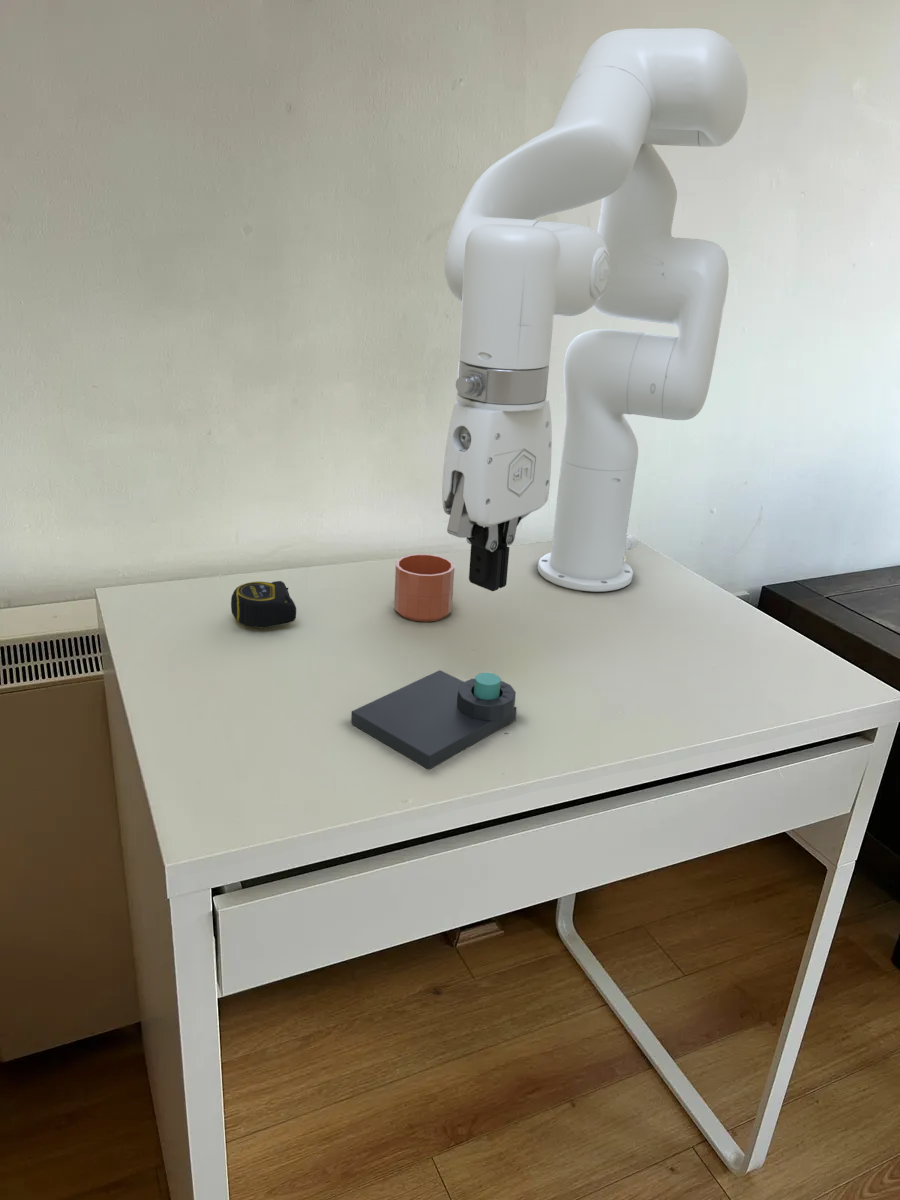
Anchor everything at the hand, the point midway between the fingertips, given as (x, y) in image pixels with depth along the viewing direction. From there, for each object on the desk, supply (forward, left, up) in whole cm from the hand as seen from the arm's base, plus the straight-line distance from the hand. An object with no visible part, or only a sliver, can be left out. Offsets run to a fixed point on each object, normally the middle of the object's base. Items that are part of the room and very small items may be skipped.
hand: (487, 584), depth 83 cm
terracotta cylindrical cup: (-11, -18, -13) cm, 25 cm away
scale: (+6, 0, -13) cm, 14 cm away
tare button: (+2, +2, -10) cm, 10 cm away
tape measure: (+4, -28, -13) cm, 32 cm away
